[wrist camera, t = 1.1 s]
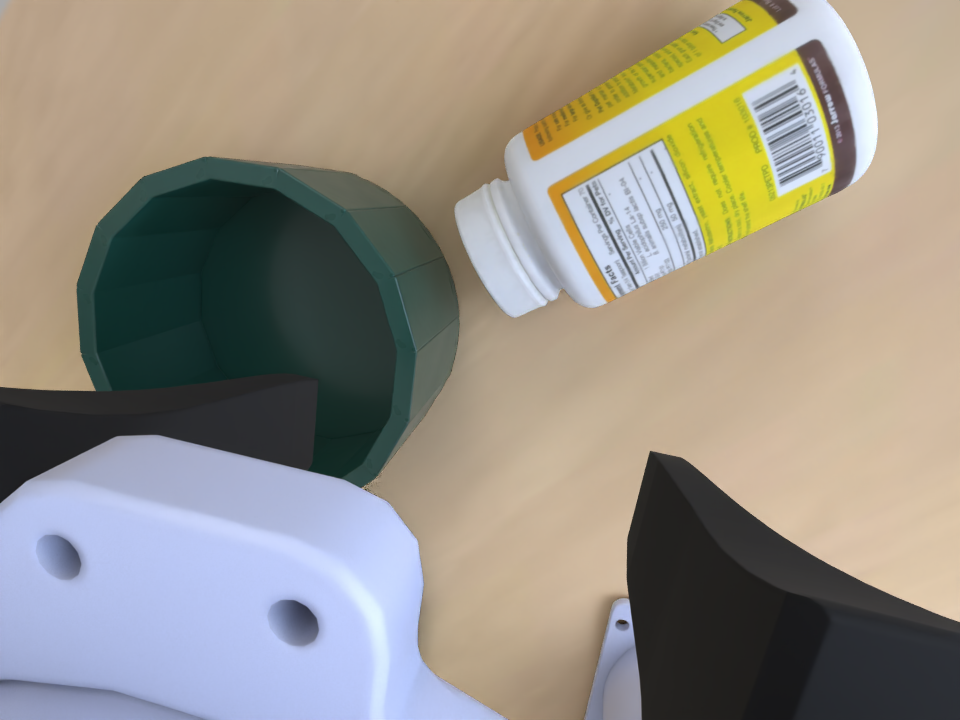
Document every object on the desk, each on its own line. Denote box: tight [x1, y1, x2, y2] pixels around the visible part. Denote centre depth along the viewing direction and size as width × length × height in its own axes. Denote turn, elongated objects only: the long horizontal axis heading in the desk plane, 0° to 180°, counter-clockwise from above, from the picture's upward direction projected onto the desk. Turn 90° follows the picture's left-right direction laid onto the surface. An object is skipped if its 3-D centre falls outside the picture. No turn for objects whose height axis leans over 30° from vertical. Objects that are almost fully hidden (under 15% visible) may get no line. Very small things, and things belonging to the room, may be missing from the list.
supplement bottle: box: [455, 0, 878, 318], centre depth 17 cm, size 6×6×10 cm
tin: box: [77, 157, 459, 488], centre depth 20 cm, size 11×11×6 cm
